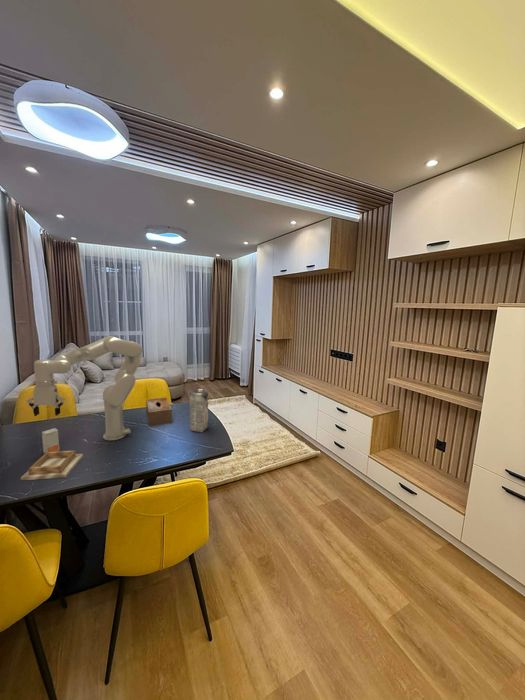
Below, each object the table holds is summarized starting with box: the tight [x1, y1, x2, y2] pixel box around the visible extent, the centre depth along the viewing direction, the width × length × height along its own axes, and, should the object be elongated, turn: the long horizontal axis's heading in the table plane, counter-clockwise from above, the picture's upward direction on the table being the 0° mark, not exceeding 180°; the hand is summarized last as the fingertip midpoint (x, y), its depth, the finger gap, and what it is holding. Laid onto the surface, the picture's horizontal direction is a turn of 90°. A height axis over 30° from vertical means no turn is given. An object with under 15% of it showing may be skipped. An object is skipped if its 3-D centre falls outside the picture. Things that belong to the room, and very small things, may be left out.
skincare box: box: [41, 427, 60, 454], centre depth 148 cm, size 6×4×12 cm
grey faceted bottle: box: [189, 388, 209, 433], centre depth 179 cm, size 9×10×27 cm
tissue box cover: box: [145, 397, 173, 427], centre depth 197 cm, size 26×14×10 cm, turn 27°
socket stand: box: [20, 450, 84, 481], centre depth 135 cm, size 18×18×4 cm
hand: (47, 414), depth 145 cm, fingers open, 9 cm apart
